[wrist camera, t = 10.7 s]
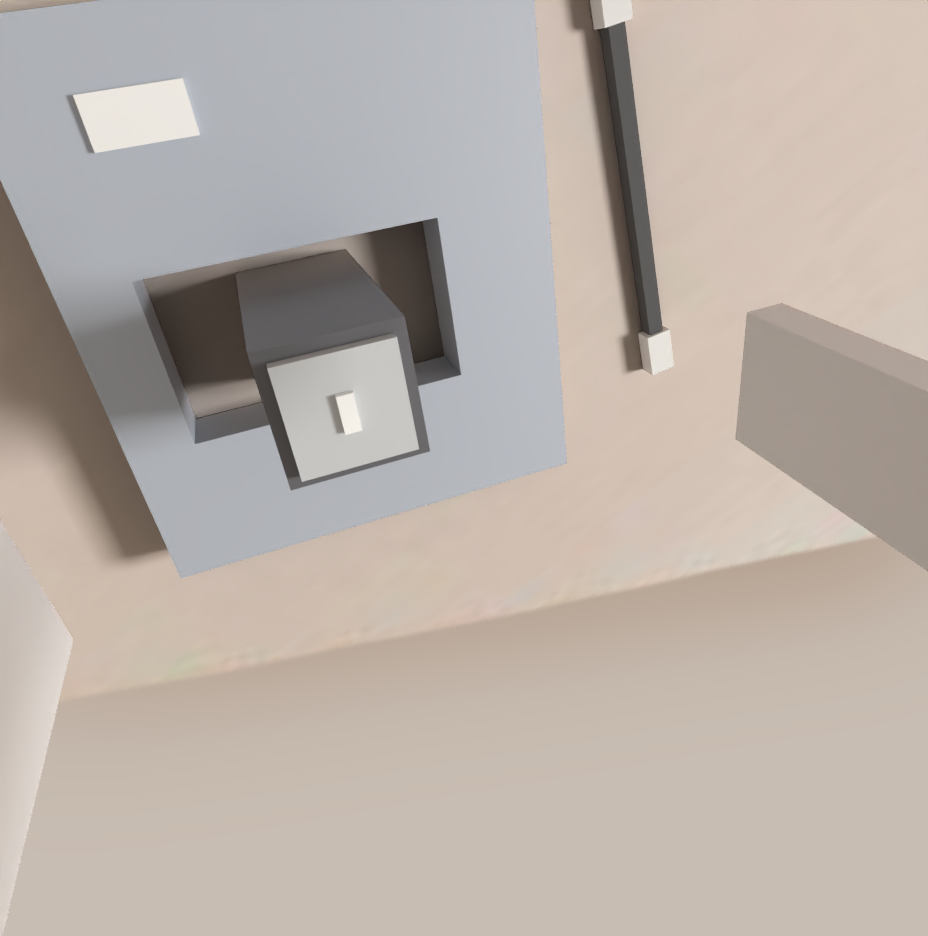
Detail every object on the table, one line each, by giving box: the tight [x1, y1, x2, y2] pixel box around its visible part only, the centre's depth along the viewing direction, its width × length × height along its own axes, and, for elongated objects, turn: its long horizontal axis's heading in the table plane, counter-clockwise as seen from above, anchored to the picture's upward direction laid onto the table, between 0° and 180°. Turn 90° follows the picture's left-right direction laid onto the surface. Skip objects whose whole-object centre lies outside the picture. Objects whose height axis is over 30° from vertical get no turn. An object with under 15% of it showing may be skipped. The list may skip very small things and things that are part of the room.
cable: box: [590, 0, 674, 375], centre depth 30 cm, size 17×1×1 cm, turn 17°
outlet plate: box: [0, 0, 567, 578], centre depth 27 cm, size 20×18×3 cm
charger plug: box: [235, 249, 430, 490], centre depth 24 cm, size 4×4×11 cm
